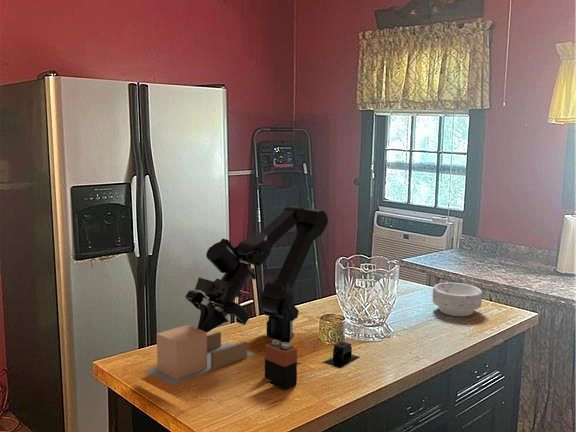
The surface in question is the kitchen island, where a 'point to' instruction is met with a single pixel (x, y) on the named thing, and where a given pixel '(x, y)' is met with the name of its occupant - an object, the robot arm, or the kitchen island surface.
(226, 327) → the kitchen island surface
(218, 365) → the chute
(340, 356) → the black rectangular piece
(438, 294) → the white marble bowl
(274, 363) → the battery
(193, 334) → the block
